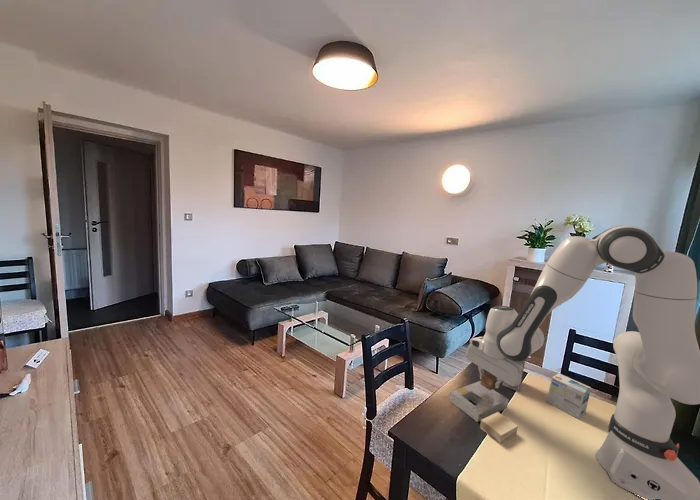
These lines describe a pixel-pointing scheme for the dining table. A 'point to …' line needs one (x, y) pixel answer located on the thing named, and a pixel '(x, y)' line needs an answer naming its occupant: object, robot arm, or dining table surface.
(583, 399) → the light bulb box
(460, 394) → the plate
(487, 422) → the beige rectangular block
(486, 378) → the walnut block
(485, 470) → the dining table surface
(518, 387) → the coffee box
